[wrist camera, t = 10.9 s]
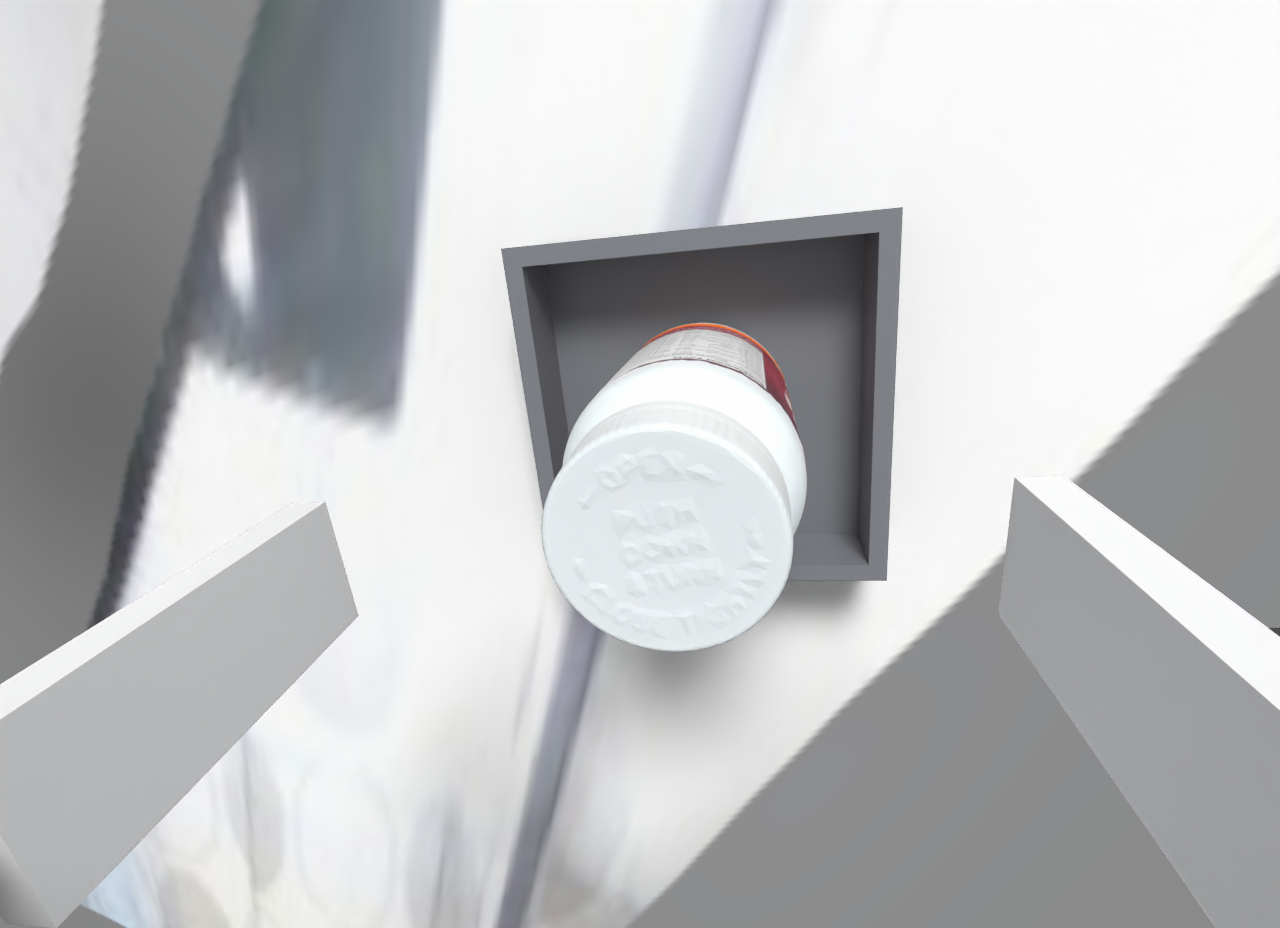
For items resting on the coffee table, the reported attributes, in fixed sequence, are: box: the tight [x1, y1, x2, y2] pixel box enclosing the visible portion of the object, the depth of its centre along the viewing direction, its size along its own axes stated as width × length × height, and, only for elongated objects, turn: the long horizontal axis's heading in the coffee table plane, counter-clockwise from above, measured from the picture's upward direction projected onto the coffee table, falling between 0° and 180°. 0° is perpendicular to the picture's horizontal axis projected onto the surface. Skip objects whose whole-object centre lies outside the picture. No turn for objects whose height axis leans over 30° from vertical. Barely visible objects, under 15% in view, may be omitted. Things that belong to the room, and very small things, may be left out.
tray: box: [501, 207, 903, 581], centre depth 22 cm, size 12×12×3 cm
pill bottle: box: [542, 323, 807, 652], centre depth 18 cm, size 6×6×11 cm
